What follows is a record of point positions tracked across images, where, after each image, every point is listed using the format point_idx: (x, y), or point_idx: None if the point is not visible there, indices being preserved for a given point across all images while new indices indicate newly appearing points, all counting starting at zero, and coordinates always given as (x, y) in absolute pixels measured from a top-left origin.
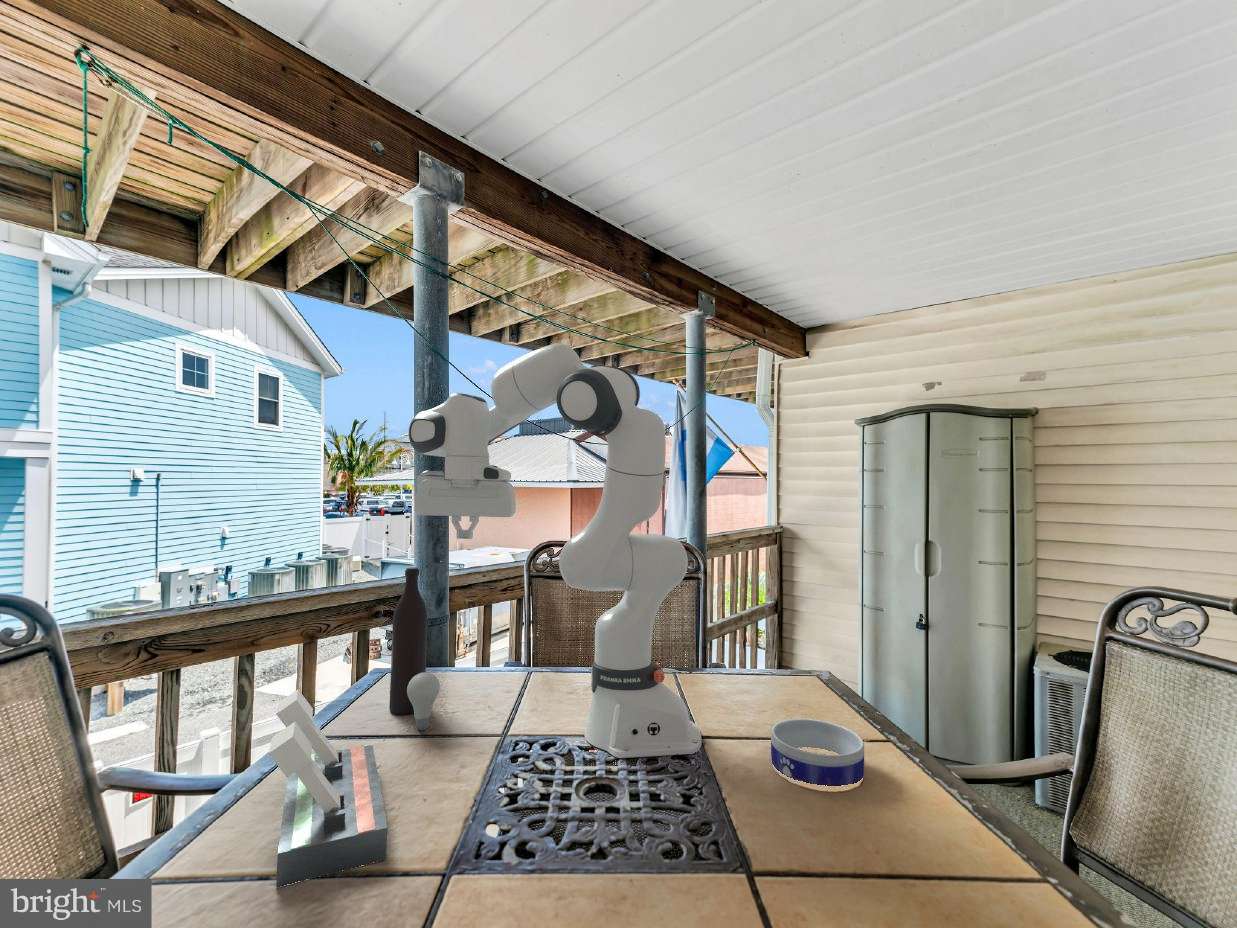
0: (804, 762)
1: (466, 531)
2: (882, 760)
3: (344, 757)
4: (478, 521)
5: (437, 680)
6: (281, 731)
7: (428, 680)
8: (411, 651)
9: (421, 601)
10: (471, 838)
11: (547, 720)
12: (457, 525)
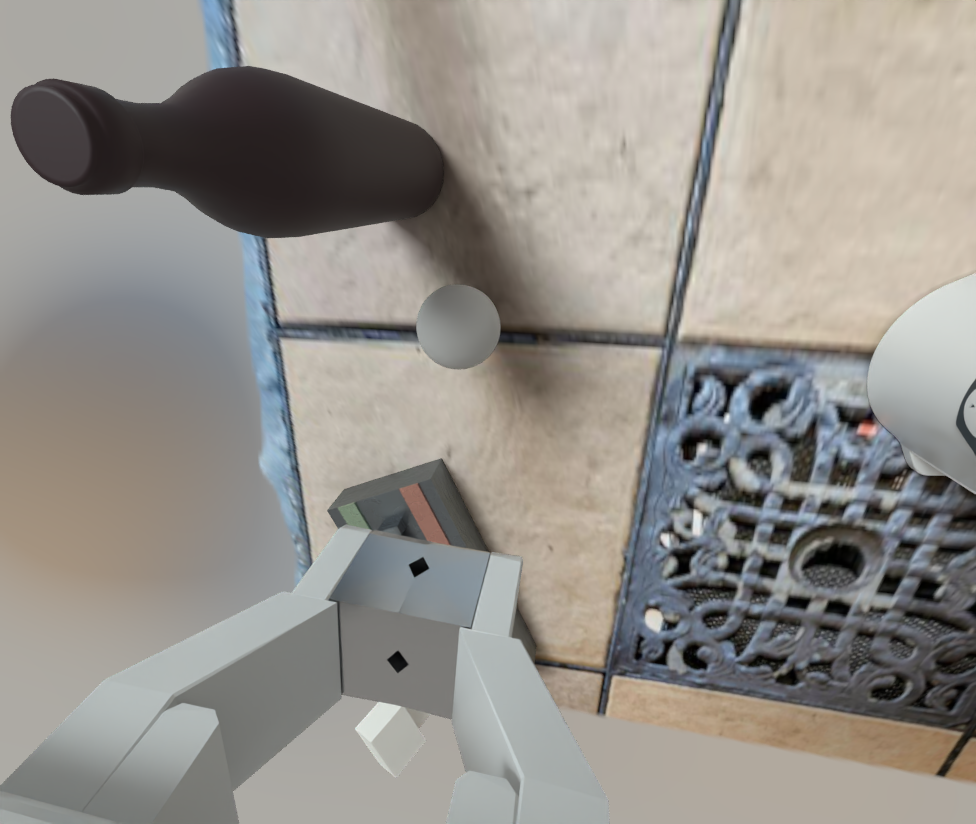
0: None
1: (441, 699)
2: None
3: (405, 516)
4: (604, 822)
5: (490, 332)
6: (362, 736)
7: (470, 360)
8: (359, 224)
9: (276, 172)
10: (627, 629)
11: (789, 258)
12: (274, 751)
